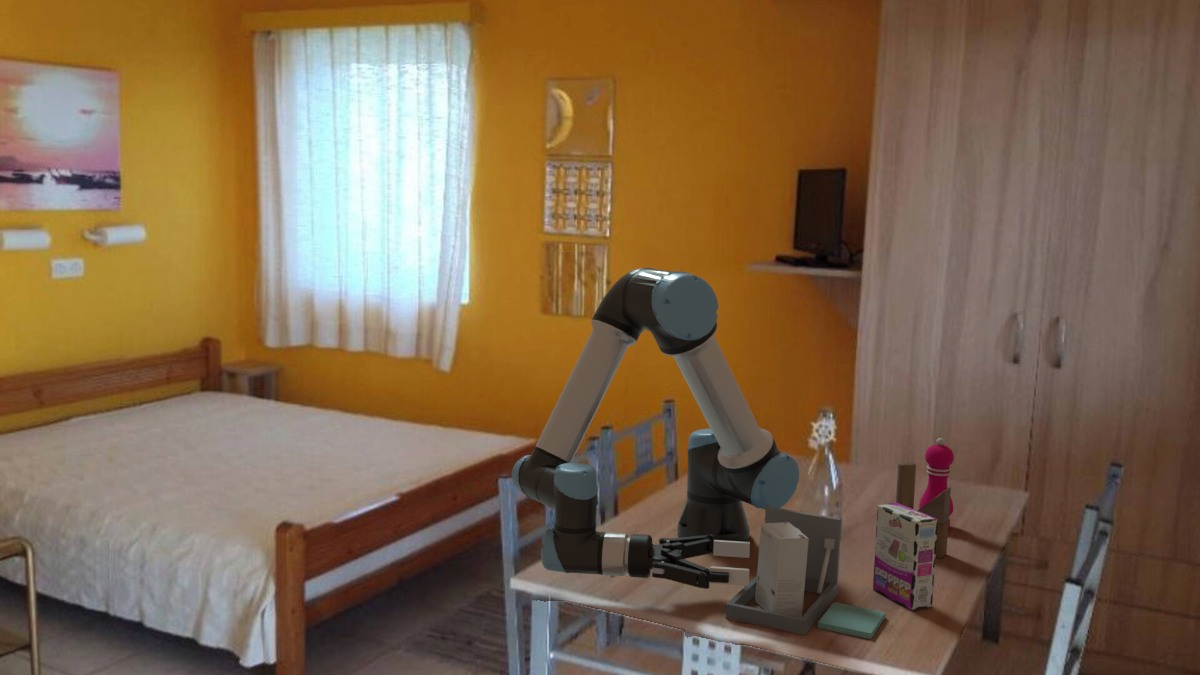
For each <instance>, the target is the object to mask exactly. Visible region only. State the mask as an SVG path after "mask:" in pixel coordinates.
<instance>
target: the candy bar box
mask: <svg viewBox="0 0 1200 675" xmlns="http://www.w3.org/2000/svg"><path fill="white" fill-rule="evenodd" d="M876 517H877V518H876V531H875V532H876V533H875V545H874V549H875V550H874V561H873V562H874V563H873V565H874V566H873V579H872V580H873V583H872V590H874V591H875V592H877V593H879V594H880V595H882V596H884V597H886V598H888V599H889V600H891V601H894V602H895V603H897V604H899V605H901V606H903V607H905V608H907V609H908V610H910V611H916V610H917V611H918V610H924V609H929V608H933V600H934V598H933V597H934V596H933V595H934V583H935V582H934V580H935V571H936V570H935V568H936V557H935V555H936V539H937V525H938V519H936V518H933V517H931V516H929V515H926V514H924V513H921V512H919V511H918V510H917V509H911V508H909V507H907V506H904V505H902V504H899V503H896V502H891V503H885V504H877V511H876Z"/></svg>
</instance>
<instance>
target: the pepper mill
mask: <svg viewBox="0 0 1200 675" xmlns="http://www.w3.org/2000/svg"><path fill="white" fill-rule="evenodd" d="M924 459H925V461H926V463H927V464H928V465H927V466H926V473H927V474H928V475H927V476H928V482H927V485H926V489H925V490H924V491H923V493H922V495H921V497H920V500H919V504H918V510H919V509H920V508H922V507H923V506H925V505H926V504H927V503H929V502H930V501H931V500H933V499H934V498H935V497H937V496H938V495H939V494H941V493H942V492H943V491H945V490H946V489H948V488H949V487H948V477H949V476H950V475H951V467H950V466H951V465H952V464H954V460H955V456H954V452H953V449H951V448H950V447H949V446H947V445H945V439H944V438H942V437H938V438H937V439H936V441H935V444H932V445H931V446H929V447H928V448H927V449H926V450H925V454H924ZM953 513H954V502H953V500H952V497H951V495H950V509H949V517H950V516H951V515H952V514H953ZM948 522H949V524H948V530H949V529H950V528H951V519H950V518H949V520H948Z"/></svg>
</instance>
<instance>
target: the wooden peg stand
mask: <svg viewBox="0 0 1200 675" xmlns="http://www.w3.org/2000/svg"><path fill="white" fill-rule="evenodd" d="M916 473H917V464H916V463H915V462H912V461H909V460H908V461H907V460H904V461H903V460H902V461H899V462H898V463H897V475H896V476H897V477H896V490H895V493H896V494H895V503H899V504H902V505H904V506H907V507H909V508H911V509H914V507H915V490H916V477H917V476H916ZM951 492H952V488H951V487H950V486H949V487H948V489H946V490H945V491H943V492H942V493H941V494H939V495H938V496H937V497H935V498H934V499H933V500H931V501H930V502H929V503H927V504H926V505H925V506H923V507H922V508H920V509H919V508H918V510H917V511H919V512H921V513H924V514H926V515H929V516H931V517H933V518H936V519H938V525H937V539H936V555H935V558H937V559H942V558H943V557H944V556H946V555H947V553H948V552H947V550H948V538H949V537H948V535H949V529H948V524H949V522H948V520H949V519H950V516H949V509H950V496H951V494H952V493H951ZM914 510H915V509H914ZM945 554H946V555H945Z"/></svg>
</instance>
